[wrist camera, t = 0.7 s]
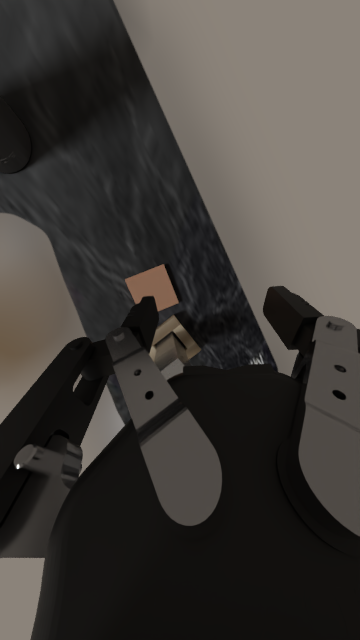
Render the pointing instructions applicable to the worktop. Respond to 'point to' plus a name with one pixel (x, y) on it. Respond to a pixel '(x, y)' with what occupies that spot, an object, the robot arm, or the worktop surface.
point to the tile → (153, 287)
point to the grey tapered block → (170, 356)
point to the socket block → (182, 334)
